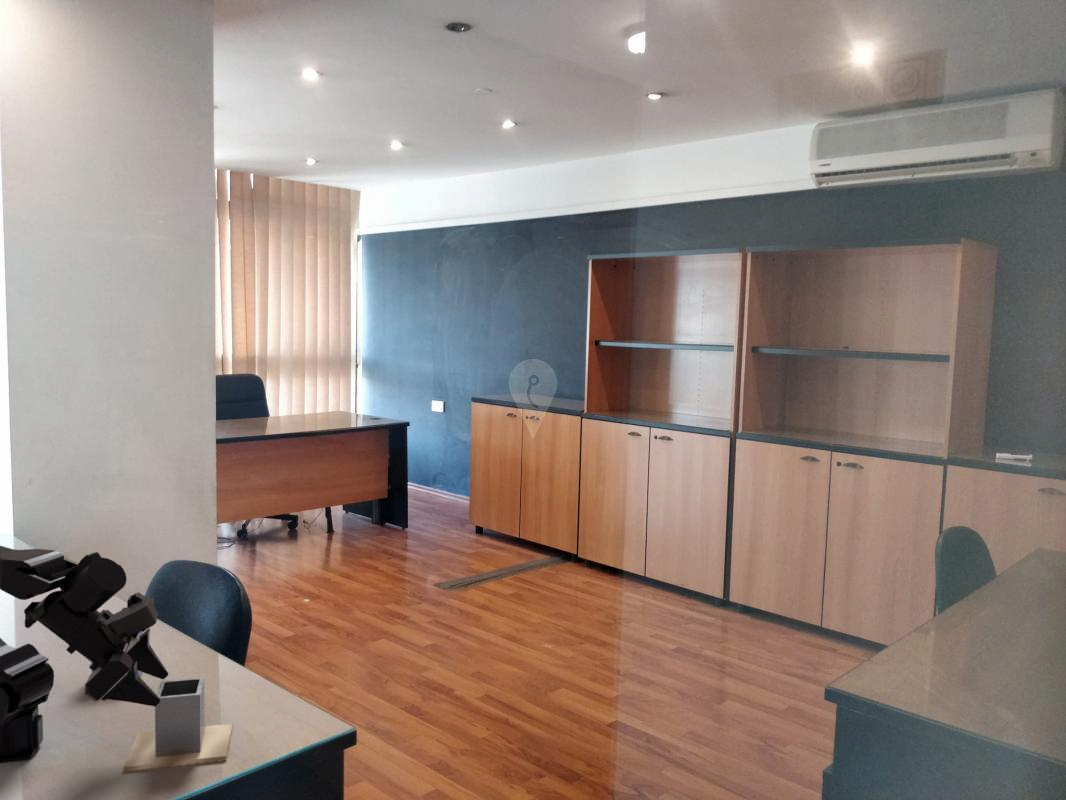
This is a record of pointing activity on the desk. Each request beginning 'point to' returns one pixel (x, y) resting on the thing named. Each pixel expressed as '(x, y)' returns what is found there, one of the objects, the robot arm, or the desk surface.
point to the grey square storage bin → (180, 717)
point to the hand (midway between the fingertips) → (162, 689)
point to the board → (211, 750)
